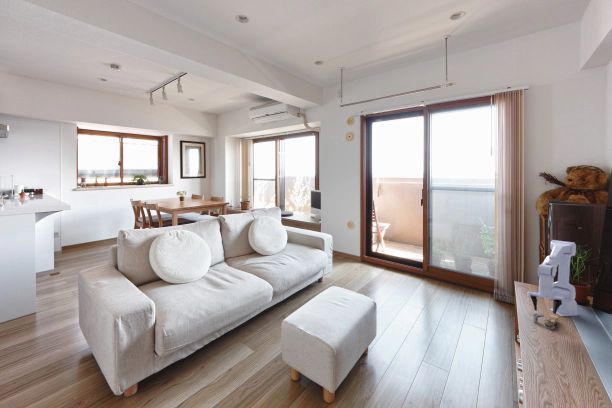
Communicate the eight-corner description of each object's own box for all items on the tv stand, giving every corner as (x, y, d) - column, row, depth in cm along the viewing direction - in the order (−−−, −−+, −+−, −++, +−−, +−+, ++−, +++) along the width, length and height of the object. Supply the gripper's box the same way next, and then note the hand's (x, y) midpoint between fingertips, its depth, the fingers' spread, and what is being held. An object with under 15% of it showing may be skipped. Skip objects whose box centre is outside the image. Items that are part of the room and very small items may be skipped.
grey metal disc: (549, 324, 148) (549, 323, 148) (557, 329, 143) (557, 327, 143) (540, 324, 148) (540, 323, 148) (548, 329, 144) (548, 328, 143)
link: (552, 327, 143) (552, 321, 143) (543, 325, 146) (543, 318, 146) (558, 320, 149) (558, 313, 149) (550, 317, 152) (550, 311, 152)
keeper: (543, 322, 150) (543, 315, 149) (536, 323, 150) (536, 315, 149) (539, 320, 152) (539, 312, 152) (532, 321, 152) (532, 313, 152)
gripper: (529, 286, 142) (528, 311, 143) (566, 292, 135) (565, 318, 136) (527, 282, 148) (526, 306, 149) (562, 287, 141) (561, 312, 142)
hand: (544, 311), depth 143 cm, fingers open, 7 cm apart
